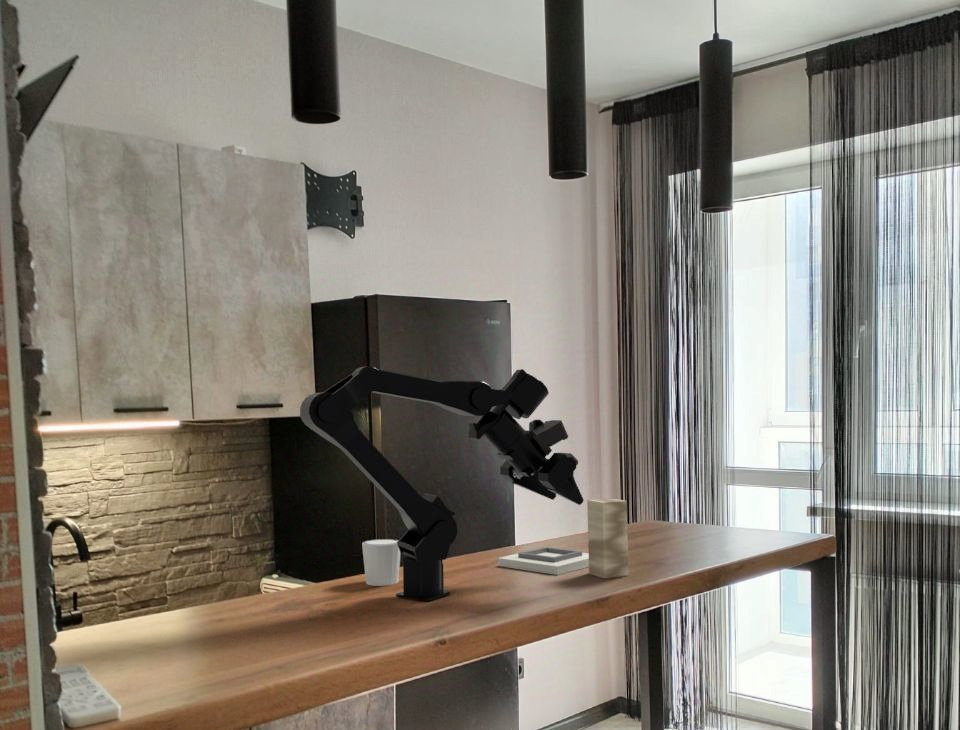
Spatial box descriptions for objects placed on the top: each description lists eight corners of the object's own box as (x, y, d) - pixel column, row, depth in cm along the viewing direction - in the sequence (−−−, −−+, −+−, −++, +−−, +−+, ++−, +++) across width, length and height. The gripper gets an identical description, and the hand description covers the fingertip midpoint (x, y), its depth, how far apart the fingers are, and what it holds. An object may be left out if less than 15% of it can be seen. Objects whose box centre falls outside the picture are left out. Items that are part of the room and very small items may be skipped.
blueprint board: (557, 574, 150) (557, 561, 150) (498, 566, 159) (498, 553, 159) (602, 563, 160) (602, 550, 160) (544, 555, 170) (543, 543, 170)
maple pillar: (604, 578, 146) (602, 502, 147) (589, 573, 151) (587, 500, 151) (628, 575, 148) (626, 500, 149) (612, 570, 153) (610, 498, 154)
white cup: (405, 578, 149) (405, 538, 150) (397, 586, 143) (397, 544, 143) (367, 578, 150) (367, 538, 151) (358, 586, 143) (357, 544, 144)
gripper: (566, 403, 137) (625, 469, 141) (514, 404, 154) (568, 462, 158) (524, 454, 133) (585, 520, 137) (475, 449, 150) (531, 508, 154)
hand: (567, 500), depth 147 cm, fingers open, 9 cm apart
